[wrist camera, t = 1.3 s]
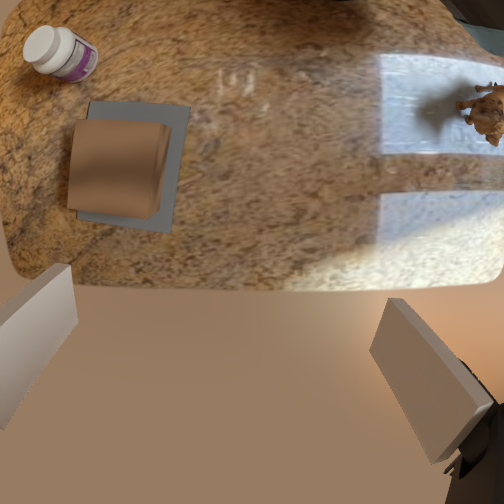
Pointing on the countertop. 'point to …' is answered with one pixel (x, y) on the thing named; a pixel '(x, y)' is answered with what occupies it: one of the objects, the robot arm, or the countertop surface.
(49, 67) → the pill bottle
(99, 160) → the base block
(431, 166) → the countertop surface
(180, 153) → the mat
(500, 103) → the lion figurine
